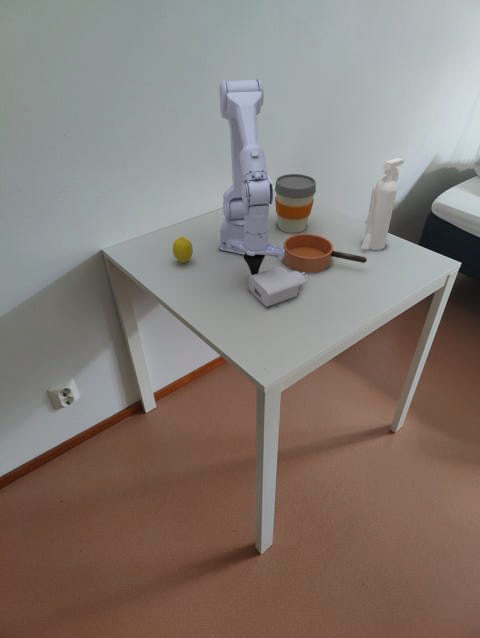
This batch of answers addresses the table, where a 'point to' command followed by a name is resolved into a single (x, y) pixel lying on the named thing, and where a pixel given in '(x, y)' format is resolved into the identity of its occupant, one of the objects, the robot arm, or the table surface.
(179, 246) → the lemon
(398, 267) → the table surface
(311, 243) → the pan
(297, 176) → the reusable coffee cup
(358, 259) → the pan handle
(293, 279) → the charger
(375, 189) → the white spray bottle
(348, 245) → the table surface
